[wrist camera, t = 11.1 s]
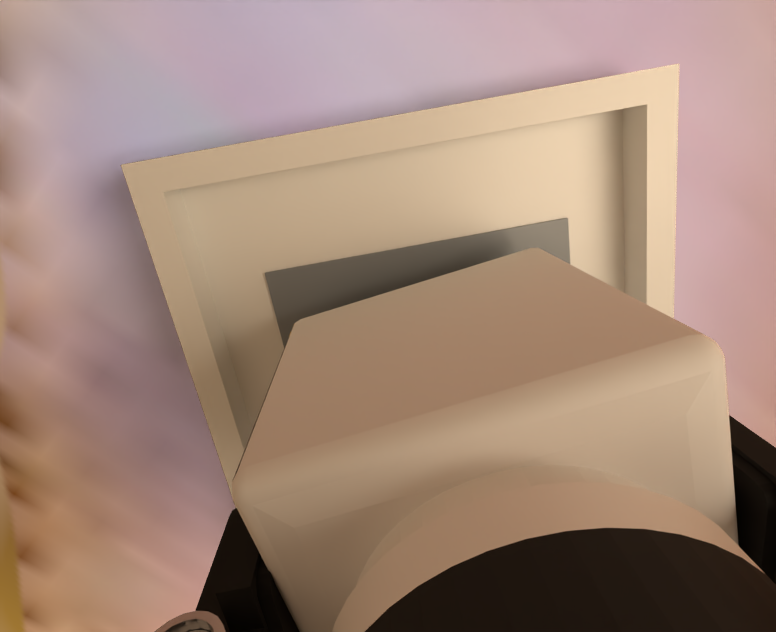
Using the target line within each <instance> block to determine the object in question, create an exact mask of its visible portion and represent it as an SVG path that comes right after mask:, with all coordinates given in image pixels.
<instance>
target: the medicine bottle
mask: <svg viewBox="0 0 776 632" xmlns="http://www.w3.org/2000/svg"><path fill="white" fill-rule="evenodd" d="M232 496H233V501H234V504H235V506H236V508H237V510H238V512H239V514H240V516H241V517H242V519H243V521H244V523H245V525H246V527H247V529H248V531H249V533H250V535H251V537H252V539H253V541H254V543H255V545H256V547H257V549H258V551H259V553H260V555H261V557H262V559H263V561H264V563H265V565H266V567H267V568H268V570H269V571H270V572H271V574H272V577H273V579H274V582H275V584H276V586H277V588H278V590H279V592H280V594H281V596H282V598H283V600H284V602H285V604H286V606H287V608H288V610H289V612H290V614H291V616H292V618H293V619H294V621H295V623H296V625H297V627H298V629H299V631H300V632H776V584H775V583H774V582H773V581H772V580H771V579H770V578H769V577H768V576H767V575H766V574H765V573H764V572H763V571H762V570H761V569H760V568H759V567H758V566H757V565H756V564H755V563H754V562H753V561H752V560H751V558H750V557H749V556H748V555H747V554H746V553H745V552H744V551H743V550H742V549H741V548H740V547H739V544H738V530H737V517H736V503H735V490H734V476H733V463H732V449H731V436H730V422H729V409H728V395H727V381H726V368H725V357H724V355H723V352H722V350H721V348H720V346H719V345H718V344H717V343H716V342H715V341H714V340H713V339H711V338H709V337H707V336H706V335H704V334H702V333H700V332H698V331H696V330H694V329H692V328H691V327H689V326H687V325H685V324H683V323H681V322H679V321H677V320H675V319H673V318H671V317H670V316H668V315H666V314H664V313H662V312H660V311H658V310H656V309H654V308H652V307H650V306H649V305H647V304H645V303H643V302H641V301H639V300H637V299H635V298H633V297H631V296H629V295H628V294H626V293H624V292H622V291H620V290H618V289H616V288H614V287H612V286H610V285H608V284H607V283H605V282H603V281H601V280H599V279H597V278H595V277H593V276H591V275H589V274H587V273H586V272H584V271H582V270H580V269H578V268H576V267H574V266H572V265H570V264H568V263H566V262H565V261H563V260H561V259H559V258H557V257H555V256H553V255H551V254H549V253H547V252H545V251H544V250H542V249H540V248H529V249H526V250H523V251H519V252H516V253H513V254H510V255H506V256H503V257H500V258H497V259H493V260H490V261H487V262H484V263H481V264H477V265H474V266H471V267H468V268H464V269H461V270H458V271H455V272H451V273H448V274H445V275H442V276H439V277H435V278H432V279H429V280H426V281H422V282H419V283H416V284H413V285H409V286H406V287H403V288H400V289H396V290H393V291H390V292H387V293H384V294H380V295H377V296H374V297H371V298H367V299H364V300H361V301H358V302H354V303H351V304H348V305H345V306H342V307H338V308H335V309H332V310H329V311H325V312H322V313H319V314H316V315H312V316H309V317H306V318H303V319H300V320H299V321H297V322H296V323H294V325H293V327H292V330H291V332H290V335H289V337H288V340H287V342H286V345H285V348H284V350H283V353H282V355H281V358H280V360H279V363H278V365H277V368H276V371H275V373H274V376H273V378H272V381H271V383H270V386H269V389H268V391H267V394H266V396H265V399H264V401H263V404H262V406H261V409H260V412H259V414H258V417H257V419H256V422H255V424H254V427H253V430H252V432H251V435H250V437H249V440H248V442H247V445H246V447H245V450H244V453H243V455H242V458H241V460H240V463H239V465H238V468H237V471H236V473H235V476H234V478H233V481H232Z"/></svg>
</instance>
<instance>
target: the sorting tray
mask: <svg viewBox="0 0 776 632" xmlns="http://www.w3.org/2000/svg"><path fill="white" fill-rule="evenodd" d="M678 97H679V64H675V65H669V66H664V67H658V68H653V69H647V70H642V71H636V72H630V73H625V74H619V75H614V76H608V77H603V78H597V79H592V80H586V81H581V82H575V83H570V84H564V85H559V86H553V87H548V88H542V89H537V90H531V91H526V92H520V93H515V94H509V95H503V96H498V97H492V98H487V99H481V100H476V101H470V102H465V103H459V104H454V105H448V106H443V107H437V108H432V109H426V110H421V111H415V112H410V113H404V114H399V115H393V116H388V117H382V118H376V119H371V120H365V121H360V122H354V123H349V124H343V125H338V126H332V127H327V128H321V129H316V130H310V131H305V132H299V133H294V134H288V135H283V136H277V137H272V138H266V139H261V140H255V141H250V142H244V143H238V144H233V145H227V146H222V147H216V148H211V149H205V150H200V151H194V152H189V153H183V154H178V155H172V156H167V157H161V158H156V159H150V160H145V161H139V162H134V163H128V164H123V165H121V167H122V170H123V173H124V176H125V179H126V182H127V185H128V188H129V191H130V194H131V197H132V200H133V203H134V206H135V209H136V212H137V215H138V218H139V221H140V224H141V227H142V230H143V233H144V236H145V239H146V242H147V245H148V248H149V251H150V254H151V257H152V260H153V263H154V266H155V269H156V272H157V275H158V278H159V281H160V284H161V286H162V289H163V292H164V295H165V298H166V301H167V304H168V307H169V310H170V313H171V316H172V319H173V322H174V325H175V328H176V331H177V334H178V337H179V340H180V343H181V346H182V349H183V352H184V355H185V358H186V361H187V364H188V367H189V370H190V373H191V376H192V379H193V382H194V385H195V388H196V391H197V394H198V397H199V400H200V403H201V406H202V409H203V412H204V415H205V418H206V421H207V424H208V427H209V430H210V433H211V435H212V438H213V441H214V444H215V447H216V450H217V453H218V456H219V459H220V462H221V465H222V468H223V471H224V474H225V477H226V480H227V483H228V486H229V489H230V492H231V495H232V481H233V478H234V476H235V473H236V471H237V468H238V465H239V463H240V460H241V458H242V455H243V453H244V450H245V447H246V445H247V442H248V440H249V437H250V435H251V432H252V430H253V427H254V424H255V422H256V419H257V417H258V414H259V412H260V409H261V406H262V404H263V401H264V399H265V396H266V394H267V391H268V389H269V386H270V383H271V381H272V378H273V376H274V373H275V371H276V368H277V365H278V363H279V360H280V358H281V355H282V353H283V350H284V348H285V345H286V342H287V340H288V337H289V335H290V332H291V330H292V327H293V325H294V323H296V322H297V321H299V320H300V319H303V318H306V317H309V316H312V315H316V314H319V313H322V312H325V311H329V310H332V309H335V308H338V307H342V306H345V305H348V304H351V303H354V302H358V301H361V300H364V299H367V298H371V297H374V296H377V295H380V294H384V293H387V292H390V291H393V290H396V289H400V288H403V287H406V286H409V285H413V284H416V283H419V282H422V281H426V280H429V279H432V278H435V277H439V276H442V275H445V274H448V273H451V272H455V271H458V270H461V269H464V268H468V267H471V266H474V265H477V264H481V263H484V262H487V261H490V260H493V259H497V258H500V257H503V256H506V255H510V254H513V253H516V252H519V251H523V250H526V249H529V248H540V249H542V250H544V251H545V252H547V253H549V254H551V255H553V256H555V257H557V258H559V259H561V260H563V261H565V262H566V263H568V264H570V265H572V266H574V267H576V268H578V269H580V270H582V271H584V272H586V273H587V274H589V275H591V276H593V277H595V278H597V279H599V280H601V281H603V282H605V283H607V284H608V285H610V286H612V287H614V288H616V289H618V290H620V291H622V292H624V293H626V294H628V295H629V296H631V297H633V298H635V299H637V300H639V301H641V302H643V303H645V304H647V305H649V306H650V307H652V308H654V309H656V310H658V311H660V312H662V313H664V314H666V315H668V316H670V317H671V318H673V319H674V276H675V231H676V187H677V142H678ZM232 498H233V496H232ZM235 507H236V506H235Z"/></svg>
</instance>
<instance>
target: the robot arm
mask: <svg viewBox="0 0 776 632" xmlns="http://www.w3.org/2000/svg"><path fill="white" fill-rule="evenodd" d="M729 422H730V436H731V449H732V463H733V476H734V490H735V503H736V517H737V530H738V544H739V547H740V548H741V549H742V550H743V551H744V552H745V553H746V554H747V555H748V556H749V557H750V558H751V560H752V561H753V562H754V563H755V564H756V565H757V566H758V567H759V568H760V569H761V570H762V571H763V572H764V573H765V574H766V575H767V576H768V577H769V578H770V579H771V580H772V581H773V582H774V583H775V584H776V448H775V447H774V446H772V445H771V444H769V443H768V442H767V441H765V440H764V439H762V438H761V437H759V436H758V435H757V434H755V433H754V432H752V431H751V430H750V429H748V428H747V427H745V426H744V425H742V424H741V423H740V422H738V421H737V420H735V419H734V418H732V417H731V416H730V415H729ZM155 632H300V631H299V629H298V627H297V625H296V623H295V621H294V619H293V618H292V616H291V614H290V612H289V610H288V608H287V606H286V604H285V602H284V600H283V598H282V596H281V594H280V592H279V590H278V588H277V586H276V584H275V582H274V579H273V577H272V574H271V572H270V571H269V570H268V568H267V567H266V565H265V563H264V561H263V559H262V557H261V555H260V553H259V551H258V549H257V547H256V545H255V543H254V541H253V539H252V537H251V535H250V533H249V531H248V529H247V527H246V525H245V523H244V521H243V519H242V517H241V516H240V514H239V512H238V510H237V508H235V509H234V510H233V511H232V512H231V514H230V516H229V519H228V522H227V525H226V527H225V530H224V533H223V536H222V539H221V541H220V544H219V547H218V550H217V552H216V555H215V558H214V561H213V563H212V566H211V569H210V572H209V575H208V577H207V580H206V583H205V586H204V588H203V591H202V594H201V597H200V599H199V602H198V605H197V608H196V611H193V612H189V613H185V614H182V615H180V616H178V617H176V618H174V619H172V620H170V621H168V622H167V623H165V624H164V625H163V626H161V627H160V628H159V629H157V630H156V631H155Z"/></svg>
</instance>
